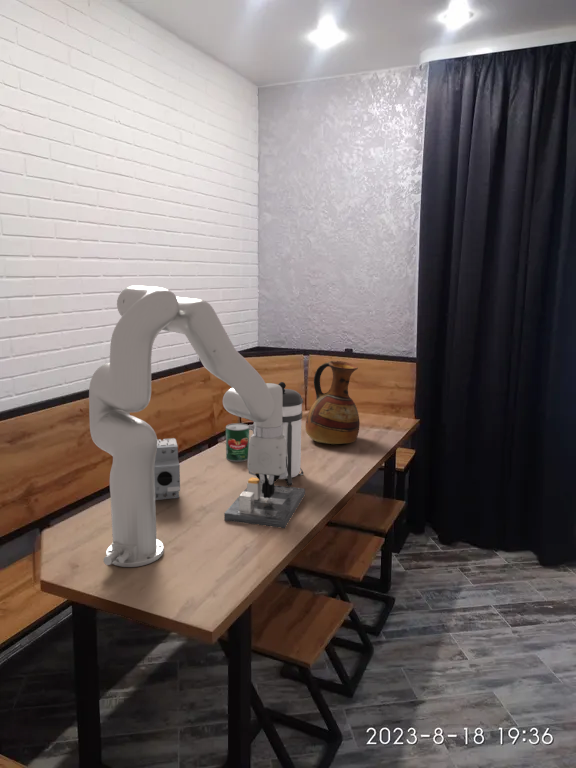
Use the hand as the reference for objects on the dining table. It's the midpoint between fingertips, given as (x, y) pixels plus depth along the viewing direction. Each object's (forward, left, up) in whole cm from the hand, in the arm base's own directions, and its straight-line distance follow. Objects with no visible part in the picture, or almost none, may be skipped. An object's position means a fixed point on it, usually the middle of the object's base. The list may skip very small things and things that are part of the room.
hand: (268, 496), depth 157 cm
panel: (0, 0, -3) cm, 3 cm away
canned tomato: (+36, +21, -4) cm, 42 cm away
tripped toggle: (0, +4, -1) cm, 4 cm away
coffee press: (+21, +2, -3) cm, 21 cm away
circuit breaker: (-2, +29, -4) cm, 30 cm away
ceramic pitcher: (+64, -6, -3) cm, 64 cm away
